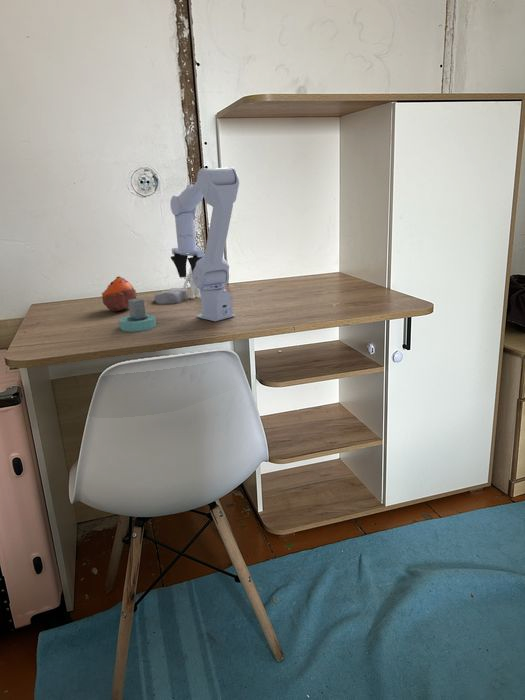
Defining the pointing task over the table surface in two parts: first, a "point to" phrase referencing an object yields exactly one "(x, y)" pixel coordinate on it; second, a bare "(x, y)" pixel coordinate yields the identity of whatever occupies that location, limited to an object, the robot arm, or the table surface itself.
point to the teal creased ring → (137, 324)
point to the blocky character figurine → (191, 284)
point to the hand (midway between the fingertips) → (189, 278)
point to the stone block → (171, 296)
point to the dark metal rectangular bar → (137, 309)
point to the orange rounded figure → (118, 294)
